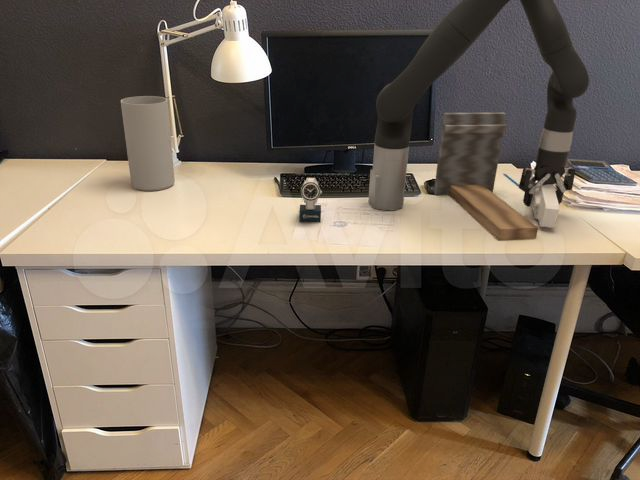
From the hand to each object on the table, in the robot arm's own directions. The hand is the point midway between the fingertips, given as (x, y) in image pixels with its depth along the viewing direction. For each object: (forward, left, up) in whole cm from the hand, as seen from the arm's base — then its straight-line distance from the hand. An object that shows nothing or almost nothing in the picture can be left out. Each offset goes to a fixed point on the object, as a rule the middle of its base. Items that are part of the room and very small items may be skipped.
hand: (541, 205), depth 146 cm
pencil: (+7, +28, -4) cm, 29 cm away
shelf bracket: (+1, +2, -4) cm, 4 cm away
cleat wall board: (-14, +2, -3) cm, 14 cm away
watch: (-63, +4, -3) cm, 63 cm away
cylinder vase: (-106, +35, -3) cm, 112 cm away
